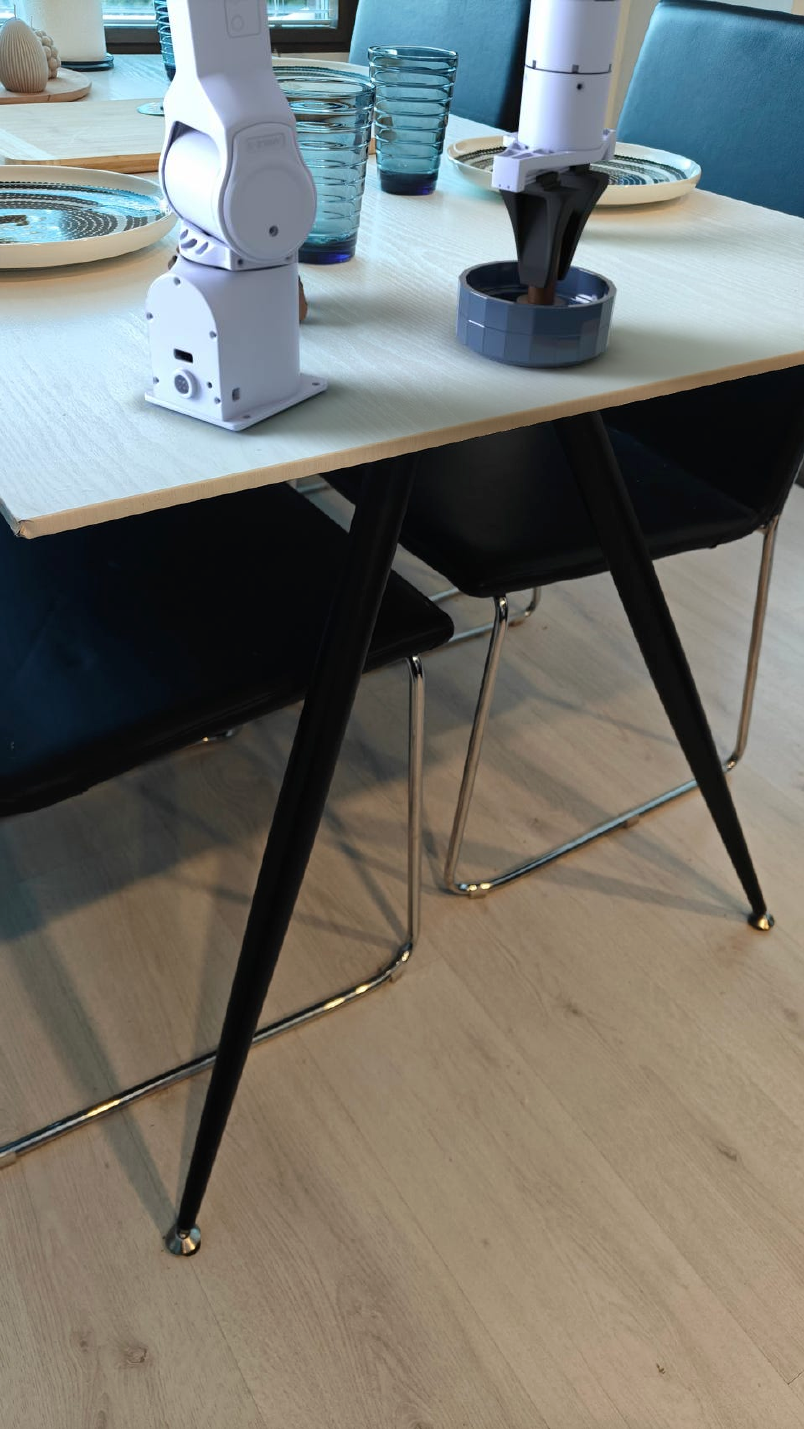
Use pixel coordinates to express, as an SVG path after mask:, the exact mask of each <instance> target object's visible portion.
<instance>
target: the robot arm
mask: <svg viewBox="0 0 804 1429" xmlns="http://www.w3.org/2000/svg"><path fill="white" fill-rule="evenodd" d="M165 2H166V7H167V13H168V22H169V28H170V29H169V30H170V36H171V43H172V48H173V49H172V50H173V56H174V57H173V58H174V64H175V74H174V76H173V79H172V81H171V83H170V85H169V87H168V89H167V91H166V94H165V96H164V98H163V102H162V106H163V112H164V121H165V122H164V123H165V135H164V142H163V146H162V150H161V152H160V156H159V162H158V181H159V186H160V190H161V193H162V196H163V198H164V200H165V202H166V204H167V205H168V208H169V209H170V210H171V211H172V212H173V213H174V214H175V215H176V217H178V218H179V219H180V231H179V235H178V245H179V251H180V253H179V254H178V255H177V257H178V258H177V261H176V263H175V264H174V266H173V267H172V268H171V269H170V270H169V269H168V271H167V272H165V273H163V274H161V275H160V276H158V277H157V278H156V279H155V280H154V281H153V282H152V283H151V285H150V287H149V289H148V291H147V295H146V298H145V299H146V300H145V323H146V332H147V341H148V352H149V360H150V367H151V368H150V370H151V381H152V389H150V390H148V391H146V392H145V393H144V398H145V399H144V400H145V401H146V402H148V403H151V404H154V405H157V406H160V407H162V408H166V409H169V410H171V411H174V412H177V413H179V414H183V415H186V416H190V417H192V418H195V419H198V420H200V421H204V422H207V423H209V424H212V425H216V426H218V427H221V428H224V429H227V430H230V431H235V432H239V431H242V430H245V429H246V428H248V427H251V426H252V425H254V424H258V423H260V422H261V421H262V420H266V419H268V418H269V417H271V416H274V415H275V414H278V413H280V412H281V411H284V410H286V409H288V408H290V407H292V406H294V405H296V404H298V403H301V402H302V401H304V400H306V399H308V398H311V397H314V396H315V395H317V394H319V393H321V392H323V391H326V390H327V389H328V381H327V380H325V379H323V378H319V377H316V376H312V375H309V374H306V373H302V372H301V358H300V355H301V353H300V352H301V350H300V323H299V285H298V275H299V249H300V248H301V247H302V246H303V245H304V243H305V242H306V241H307V239H308V238H309V236H310V234H311V232H312V230H313V227H314V224H315V221H316V217H317V212H318V202H319V201H318V191H317V190H318V189H317V187H316V186H317V185H316V181H315V179H314V176H313V174H312V171H311V170H310V167H309V166H308V164H307V162H306V161H305V159H304V156H303V155H302V152H301V149H300V145H299V138H298V126H297V119H296V116H295V114H294V112H293V110H292V107H291V105H290V103H289V101H288V99H287V96H286V95H285V93H284V91H283V89H282V87H281V84H280V83H279V81H278V78H277V77H276V74H275V72H274V69H273V58H272V57H273V56H272V46H271V36H270V23H269V13H268V0H166V1H165ZM622 2H623V0H531V1H530V13H529V19H528V21H529V22H528V32H527V40H526V51H525V62H524V63H525V65H524V72H523V73H524V74H523V82H522V93H521V103H520V113H519V125H518V131H514V132H510V133H507V134H504V135H503V138H502V139H503V140H502V146H503V147H506V148H505V150H504V151H502V152H500V153H498V154H495V155H493V165H492V176H491V186H490V187H491V188H492V189H497V190H498V192H499V194H500V197H501V198H502V200H503V203H504V205H505V208H506V210H507V214H508V217H509V220H510V223H511V227H512V232H513V237H514V243H515V244H514V245H515V250H516V260H518V267H519V275H520V281H521V284H525V285H529V286H533V287H538V288H542V289H546V288H548V287H549V286H550V283H551V281H552V278H553V275H554V272H555V267H556V263H557V259H558V254H559V249H560V245H561V241H562V245H561V253H560V261H559V269H558V277H557V280H559V281H562V280H564V279H565V278H566V275H567V273H568V270H569V268H570V265H572V262H573V260H574V257H575V254H576V251H577V248H578V246H579V243H580V240H581V236H582V234H583V232H584V229H585V227H586V224H587V222H588V220H589V218H590V217H591V215H592V213H593V210H594V209H595V207H596V205H597V204H598V202H599V200H600V198H602V195H603V194H604V193H605V192H606V190H607V189H608V187H609V184H610V183H609V181H610V174H609V173H608V172H604V171H600V170H595V169H590V168H591V164H595V163H597V162H600V161H603V162H609V161H613V160H614V159H615V151H616V144H617V143H616V142H617V138H618V130H617V129H611V128H605V122H606V117H607V116H606V115H607V110H608V109H607V108H608V101H609V94H610V89H611V88H610V87H611V81H612V80H611V79H612V73H613V67H614V61H615V60H614V58H615V52H616V45H617V39H618V30H619V23H620V18H621V11H622V10H621V8H622Z"/></svg>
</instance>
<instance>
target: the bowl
mask: <svg viewBox="0 0 804 1429" xmlns="http://www.w3.org/2000/svg"><path fill="white" fill-rule="evenodd" d="M528 290H529V285H525V284H521V281H520V275H519V267H518V259H507V260H505V259H504V260H493V261H489V262H484V263H478V264H475V265H472V266H470V267H467V268H465V269H464V270H463V271H462V272H461V273H460V275H458V280H457V293H456V294H457V295H456V308H455V322H454V323H455V324H454V331H455V336H456V339H457V340H458V341H460V342H461V344H463V345H464V346H466V347H467V348H469V350H471V351H472V352H474V353H475V354H477V355H479V356H481V357H483V358H485V359H487V360H491V361H494V362H497V363H502V364H506V365H510V366H518V367H526V368H541V369H543V368H544V369H545V368H562V367H569V366H574V365H577V364H581V363H584V362H587V361H588V360H590V359H591V358H595V357H597V356H598V355H600V354H602V353H603V352H605V351H606V349H607V347H608V345H609V342H610V337H611V336H610V335H611V330H612V324H613V323H612V322H613V317H614V311H615V305H616V299H617V291H618V288H617V287H616V285H615V284H614V282H613V281H612V280H611V279H609V278H607V277H606V276H604V275H603V274H601V273H598V272H595V271H593V270H590V269H587V268H584V267H582V266H581V267H580V266H576V265H572V264H571V265H570V268H569V270H568V273H567V275H566V278H565V279H564V280H562V281H559V280H557V285H556V293H555V297H558V298H560V299H562V300H563V301H564V302H565V305H564V306H547V305H531V304H523V303H516V301H517V298H518V297H519V296H522V295H526V294H528Z"/></svg>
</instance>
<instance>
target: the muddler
mask: <svg viewBox="0 0 804 1429" xmlns="http://www.w3.org/2000/svg"><path fill="white" fill-rule="evenodd" d="M561 245H562V241H561ZM561 245H560V249H559V254H558V259H557V263H556V267H555V272H554V275H553V278H552V281H551V283H550V286H549V287H548V288H546V289H542V288H538V287H533V286H529V290H528V294H526V295H522V296H519V297H518V298H517V301H516V303H523V304H531V305H547V306H564V305H565V302H564V301H563V300H562V299H560V298H558V297H555V293H556V285H557V277H558V269H559V261H560V253H561Z"/></svg>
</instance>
